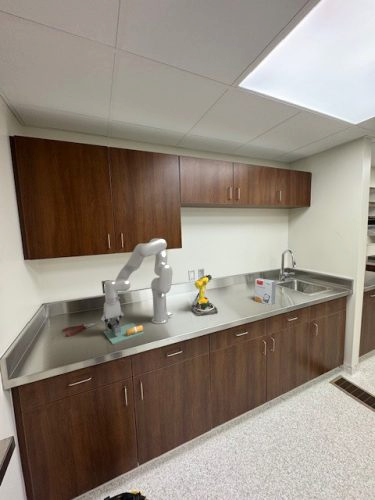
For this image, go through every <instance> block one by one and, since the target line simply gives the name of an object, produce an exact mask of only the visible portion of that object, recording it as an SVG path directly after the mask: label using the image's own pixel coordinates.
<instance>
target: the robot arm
mask: <svg viewBox="0 0 375 500" xmlns="http://www.w3.org/2000/svg"><path fill="white" fill-rule="evenodd" d="M167 246H168V243H167V241H166V239H164V238H157V237H156V238H152V239H151V240H150V241H149V242H147V243H138V244H137V245H136V246H135V247H134V249H133V250H132V253H131V255H130V257H129V259H128V261H127V262H126V264H125V265H124V266H123V267H122V269H120V271H119V272H118V275H117V277H116V278H115V280H113V279H111V280H106V281H105V282H104V293H105V294H104V296H105V302H104V303H103V315H102V316H101V321H103V322H105V323H106V325H107V327H106V328H108V330H110V329H111V326H110V320H111V319H115V320H116V321H117V322H118V323H119V324H120V320H121V319H122V317H123V316H124V314H125V313H124V312H123V311H122V308H121V304H120V303H121V302H120V300H119V299H121V297H120V296H119V293H118V292H126V291H127V292H128V291H129V289H131V282H130V281H129V278H130V276H131V274H133V273H134V272H135V271H137V270H139V269H140V267H141V265H142V262H143V261H144V259H145V258H147V257H151V256H153V255H154V257H155V258H154V260H155V261H154V269H153V271H154V274H155V275H156V276H158V277H154V278H153V279H152V281H151V283H150V288H151V292H152V308H153V309H152V310H153V317H152V318H151V322H152V323H153V324H156V325H157V324H158V325H159V324H160V325H162V324H166V323H168V322H169V321H170V317H171V316H173V312H167V294H168V293H169V292H170V290H171V289H172V288H171V287H172V281H173V268H172V266H171V265H169V263H168V252H167V250H166V248H167Z"/></svg>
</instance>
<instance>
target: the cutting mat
mask: <svg viewBox="0 0 375 500" xmlns="http://www.w3.org/2000/svg"><path fill="white" fill-rule="evenodd" d="M120 326H121V325H120ZM143 330H144V327H143V325H136V324H135V322H134V323H133V322H131V323H129V324H125V325H122V326H121V332H120V333H117V334H115V333H114V332H113V331H111V330H110V329H108V330H107V329H106V330H103V333H104V334H105V336H106V338H107V339H108V340H109V342H110V343H111V344H112V345H115V344H118V343H122V342H124V341H127V340H130V339H134V338H136V337H140V336H142V335H145V332H144V331H143Z"/></svg>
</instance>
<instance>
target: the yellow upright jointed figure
mask: <svg viewBox="0 0 375 500" xmlns="http://www.w3.org/2000/svg"><path fill="white" fill-rule="evenodd" d="M212 278H213V277H212V275H211V274H208V275H203V277H200V278H199V279H197V280H196V281H195V282H194V287H195V288H196V289H199V292H198V293H197V295H196V297H195V299H194V301H193V303H192V304H191V310H192V311H193V312H194V314H195V315H196V316H208V315H211V314H215V315H216V314H218V313H219V311H218V308H217V307H216V306H215V305H214V304H213V303H211V302H210V301H209V298H208V297H205V294H206V293H205V291H206V286H207V285H208V283H209V282H210V281H211V280H212ZM208 307H211V308H209V309H207V308H208Z"/></svg>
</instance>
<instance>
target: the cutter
mask: <svg viewBox="0 0 375 500" xmlns="http://www.w3.org/2000/svg"><path fill="white" fill-rule="evenodd" d="M110 326H111V329H109V330H111V331H113V332H114V333H115V334H117V333H120V332H121V325H120V322H119V323H118V322H117V321H116V318H112V319H110Z"/></svg>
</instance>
